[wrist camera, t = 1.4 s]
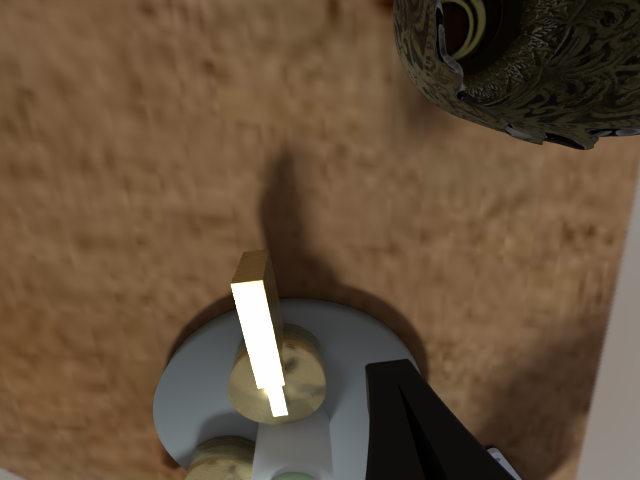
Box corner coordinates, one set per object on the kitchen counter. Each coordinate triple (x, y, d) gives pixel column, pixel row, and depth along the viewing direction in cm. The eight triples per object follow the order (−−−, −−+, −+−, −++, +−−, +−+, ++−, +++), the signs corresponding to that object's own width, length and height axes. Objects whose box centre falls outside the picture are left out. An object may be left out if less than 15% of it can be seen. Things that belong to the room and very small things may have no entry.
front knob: (327, 383, 18) (331, 433, 15) (246, 393, 18) (236, 445, 15) (307, 242, 14) (309, 274, 12) (206, 254, 14) (183, 289, 11)
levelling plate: (462, 414, 22) (515, 515, 16) (276, 508, 25) (270, 617, 20) (322, 241, 16) (333, 310, 10) (102, 394, 19) (24, 506, 14)
